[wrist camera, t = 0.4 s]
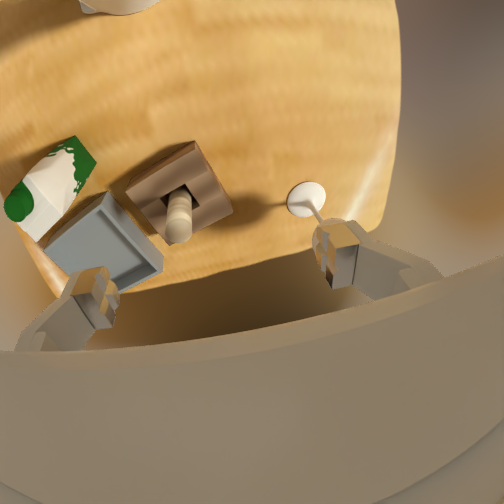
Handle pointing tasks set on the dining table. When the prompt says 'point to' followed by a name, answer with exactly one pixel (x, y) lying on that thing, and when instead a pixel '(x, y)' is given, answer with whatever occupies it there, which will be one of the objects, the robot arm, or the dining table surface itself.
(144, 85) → the dining table surface
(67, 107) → the dining table surface
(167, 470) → the robot arm
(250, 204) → the dining table surface
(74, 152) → the milk carton
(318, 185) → the wineglass
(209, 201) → the socket block
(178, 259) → the dining table surface
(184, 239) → the dowel
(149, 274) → the tray
